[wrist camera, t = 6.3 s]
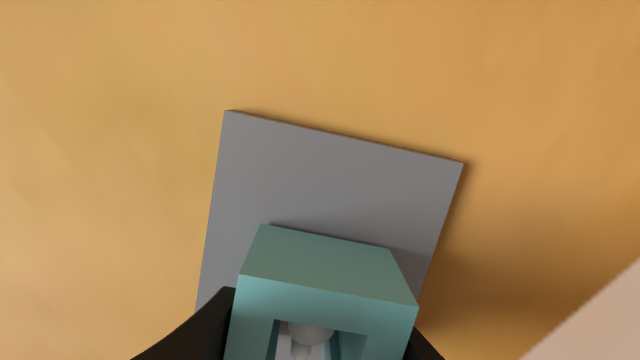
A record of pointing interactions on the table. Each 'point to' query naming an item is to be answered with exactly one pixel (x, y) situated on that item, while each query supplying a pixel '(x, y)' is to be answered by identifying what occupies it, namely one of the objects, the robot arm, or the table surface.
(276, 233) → the teal slotted block
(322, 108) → the table surface
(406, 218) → the post board
